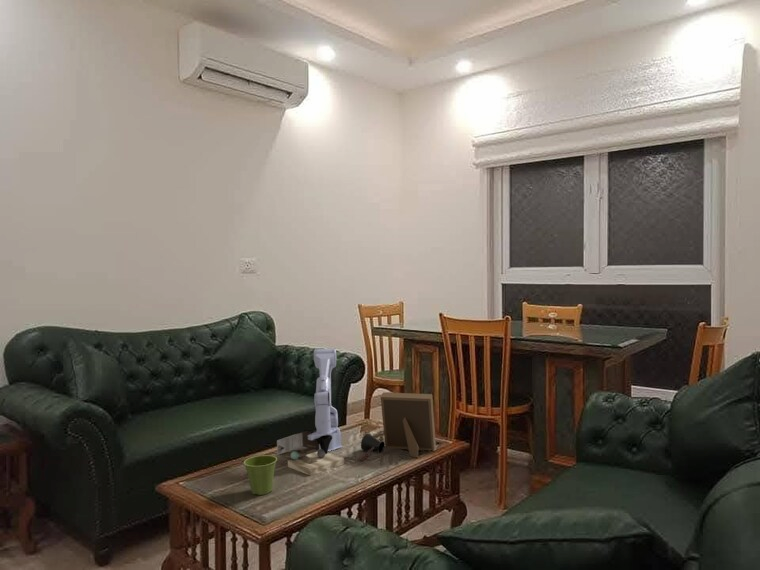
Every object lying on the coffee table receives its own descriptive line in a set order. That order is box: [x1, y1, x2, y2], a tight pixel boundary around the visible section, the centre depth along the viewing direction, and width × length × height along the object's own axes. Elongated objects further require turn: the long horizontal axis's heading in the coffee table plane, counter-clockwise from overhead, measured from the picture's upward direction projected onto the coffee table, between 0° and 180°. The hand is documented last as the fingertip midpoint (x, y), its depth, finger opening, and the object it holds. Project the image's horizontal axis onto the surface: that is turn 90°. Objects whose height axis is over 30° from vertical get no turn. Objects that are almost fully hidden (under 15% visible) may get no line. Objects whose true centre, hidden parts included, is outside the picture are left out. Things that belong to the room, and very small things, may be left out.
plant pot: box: [243, 454, 278, 496], centre depth 200 cm, size 12×12×11 cm
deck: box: [287, 451, 345, 477], centre depth 226 cm, size 17×15×2 cm
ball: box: [316, 449, 325, 458], centre depth 228 cm, size 3×3×3 cm
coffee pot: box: [357, 432, 385, 462], centre depth 238 cm, size 8×18×8 cm
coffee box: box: [276, 431, 319, 458], centre depth 231 cm, size 9×6×16 cm
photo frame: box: [380, 391, 437, 458], centre depth 240 cm, size 15×22×25 cm
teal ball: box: [290, 451, 300, 460], centre depth 226 cm, size 3×3×3 cm
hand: (324, 453), depth 228 cm, fingers closed, pressing on ball
